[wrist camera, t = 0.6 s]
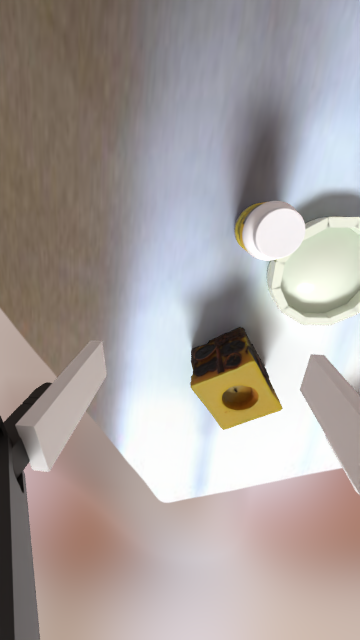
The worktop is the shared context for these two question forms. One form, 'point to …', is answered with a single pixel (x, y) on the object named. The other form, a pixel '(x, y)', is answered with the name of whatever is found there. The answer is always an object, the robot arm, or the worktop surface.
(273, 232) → the pill bottle
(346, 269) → the sage dish
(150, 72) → the worktop surface
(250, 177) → the worktop surface
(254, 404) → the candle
